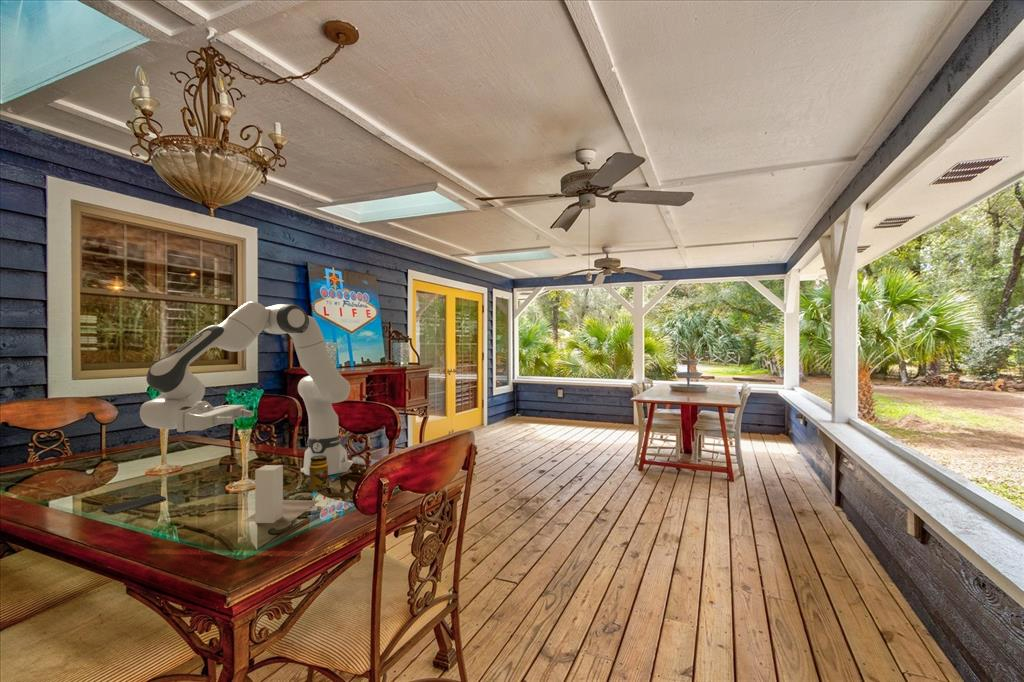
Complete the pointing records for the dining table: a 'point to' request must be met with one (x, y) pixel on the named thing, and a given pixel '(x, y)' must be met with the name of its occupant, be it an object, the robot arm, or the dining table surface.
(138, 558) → the dining table surface
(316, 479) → the condiment
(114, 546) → the dining table surface
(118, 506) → the phone
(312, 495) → the dining table surface
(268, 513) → the tall gray pillar
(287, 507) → the board
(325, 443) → the robot arm
